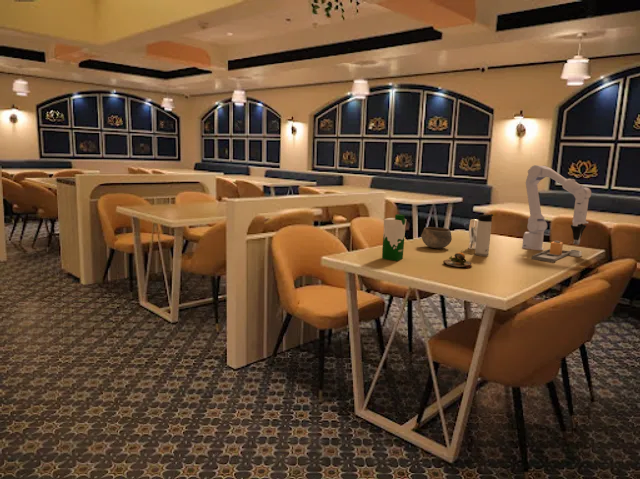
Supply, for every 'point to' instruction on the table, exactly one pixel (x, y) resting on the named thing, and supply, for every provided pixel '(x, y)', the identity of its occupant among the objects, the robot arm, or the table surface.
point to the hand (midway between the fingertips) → (576, 239)
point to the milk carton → (393, 238)
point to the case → (564, 253)
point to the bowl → (436, 237)
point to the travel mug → (483, 235)
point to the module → (556, 248)
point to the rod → (577, 241)
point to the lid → (545, 257)
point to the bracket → (575, 253)
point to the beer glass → (473, 233)
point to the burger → (458, 261)
